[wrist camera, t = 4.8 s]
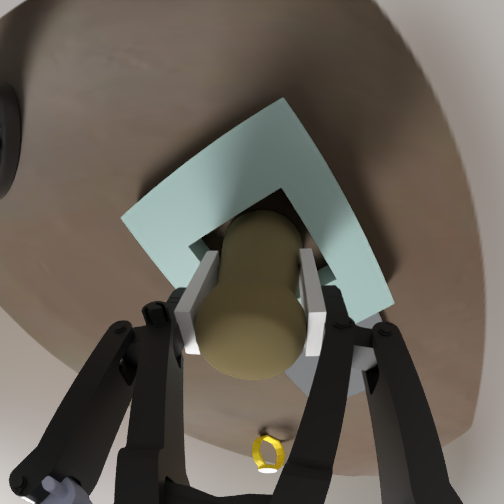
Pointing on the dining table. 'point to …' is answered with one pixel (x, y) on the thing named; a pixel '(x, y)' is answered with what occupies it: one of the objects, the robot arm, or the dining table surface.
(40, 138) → the dining table surface
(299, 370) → the rubber mat
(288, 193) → the socket board
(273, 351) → the cork
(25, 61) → the dining table surface
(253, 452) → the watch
